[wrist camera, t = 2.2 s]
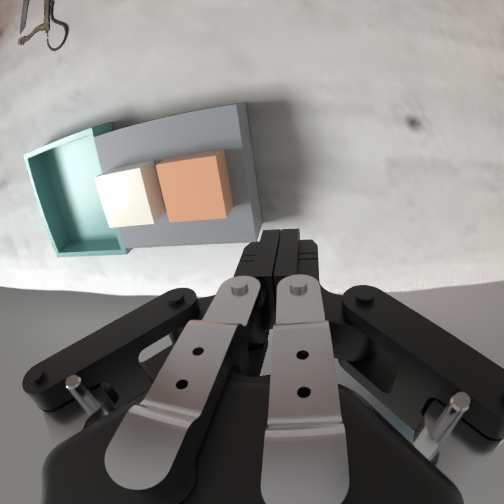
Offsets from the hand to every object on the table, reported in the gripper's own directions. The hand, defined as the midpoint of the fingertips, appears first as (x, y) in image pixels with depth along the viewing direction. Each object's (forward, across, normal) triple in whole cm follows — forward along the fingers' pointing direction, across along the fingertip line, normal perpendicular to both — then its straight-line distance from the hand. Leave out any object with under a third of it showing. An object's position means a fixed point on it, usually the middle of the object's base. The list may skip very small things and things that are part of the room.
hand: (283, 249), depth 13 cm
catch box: (+16, +24, 0) cm, 29 cm away
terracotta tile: (+12, +8, 0) cm, 15 cm away
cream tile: (+12, +14, 0) cm, 19 cm away
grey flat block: (+16, +11, 0) cm, 20 cm away
